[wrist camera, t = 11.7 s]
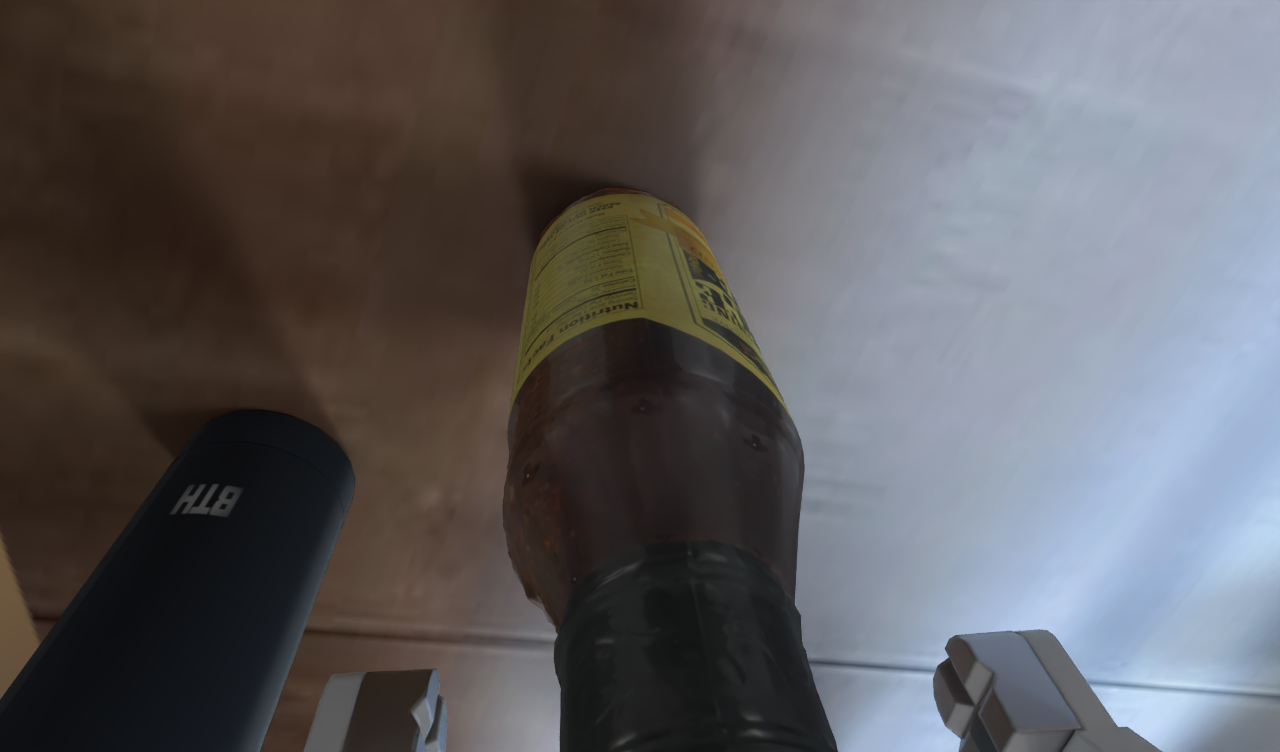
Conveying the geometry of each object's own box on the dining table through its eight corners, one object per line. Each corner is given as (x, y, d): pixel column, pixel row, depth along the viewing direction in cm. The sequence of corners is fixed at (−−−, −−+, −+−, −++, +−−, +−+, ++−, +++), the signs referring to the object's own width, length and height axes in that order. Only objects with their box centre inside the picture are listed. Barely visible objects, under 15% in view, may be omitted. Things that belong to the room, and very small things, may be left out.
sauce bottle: (712, 324, 26) (976, 1027, 9) (550, 352, 26) (527, 1103, 9) (697, 151, 22) (1081, 798, 6) (507, 183, 22) (350, 921, 6)
